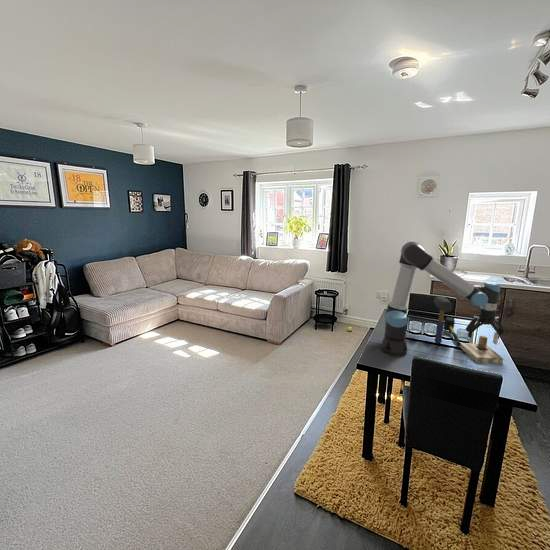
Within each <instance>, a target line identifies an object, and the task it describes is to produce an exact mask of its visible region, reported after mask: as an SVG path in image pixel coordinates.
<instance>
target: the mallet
mask: <svg viewBox="0 0 550 550" xmlns="http://www.w3.org/2000/svg"><path fill="white" fill-rule="evenodd" d="M455 322H456V320H455V318H453V317H452V316H451V317H450V316H447V317H445V319H444V322H443V330H444V329H445V330H449V331H451V332H450V333H451V334H452V337H453V339H454V341H455V343H456V346H457V347H458V346H460V344H461V343H462V342H461V341H460V340H459V337H458V335H457V333H456V332H455V330H454V327H455ZM445 330H444V331H445Z"/></svg>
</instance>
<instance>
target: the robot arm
mask: <svg viewBox="0 0 550 550" xmlns="http://www.w3.org/2000/svg"><path fill="white" fill-rule="evenodd" d="M434 258H435V257H434V256H433V255H432V254H430V253H429V252H428V251H427V250H426V249H425V248H424V247H423V246H422V244H420V243H419V242H416V241H408V242H407V243H405V244H404V245H403V246H402V247H401V250H400V257H399V260H398V263H399V264H400V267H399V271H398V276H397V279H396V281H395V282H396V283H395V287H394V289H393V294H392V298H391V301H389V302H388V303H387V306H386V310H385V311H384V319H385V321H384V322H385V323H384V325H385V326H384V336H383V339H382V340H381V343H380V347H379V348H380V351H382V353H384V354H386V355H390V356H394V357H402V356H405V355H407V353H408V346H407V342H406V335H407V327H408V326H407V325H408V320H409V319H408V316H407V311H408V307H407V302H408V297H409V294H410V292H411V291H410V290H411V287H412V284H413V280H414V277H415V274H416V269H418V270H420V271H425V272H426V273H427V274H430V275H431V276H432V277H434V278H435V279H436V280H438V281H439V282H441V283H443V284H444V285H445V286H447V287H449V288H450V289H452V290H453V291H455V292H456V293H457V294H458V296H459V297H461V298H465V299H466V300H468V301H469V302H470V303H472V305H474V306H476V307H480V308H479V316H476V315H473V316H472V319H471V321H470V322H469V323H468V325H466V327H465V328H464V330H465V331H466V332H468V334H467V337H468V343H471V344H472V343H473V342H474V334H475V333H474V332H475V331H476V330H477V329H479V328H480V327H481V326H483V325H484V326H485V325H486V326H487V325H488V326H489V325H490V326H491V327H492V328H493V330H494V333H493V338H492V343H493V344H494V345H495V346H496V345H498V340H499V339H500V337H501V336H502V334H504V333H505V330H504V327H503V324H502V322H501V318H500V317H499V316H496V314H497V307H498V304H499V303H498V301H499V296H500V293H501V285H500V284H499V283H498V282H493V281H486V282H484V283H483V285H478V284H477V285H476V284H471V283H470V282H468V281H467V280H465V279H464V278H462V277H461V276H460V275H458V274H457V273H455V272H454V271H452V270H451V269H449V268H448V267H446V266H444V265H443V264H442V263H440V262H438V261H437V260H436V259H434ZM494 321H495V322H496V324H495V322H494Z"/></svg>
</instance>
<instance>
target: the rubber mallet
mask: <svg viewBox="0 0 550 550" xmlns="http://www.w3.org/2000/svg"><path fill="white" fill-rule="evenodd" d="M433 304H434V305H435V306H436V307H437V309H439V315H438V320H437V323H436V326H435V327H436V329H435V331H436V332H435V338H434V343H436V344H438V343H440V344H441V343H442V342H443V341H442V338H443V337H442V336H443V332H444V320H445V319H444V316H445V313H449V312H451V311H452V310H453V303H452V302H451V301H450V300H449V299H448V298H446V297H444V296H443V295H439V296H438V295H437V296H436V297H435V298H434V300H433Z"/></svg>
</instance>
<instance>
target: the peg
mask: <svg viewBox="0 0 550 550" xmlns="http://www.w3.org/2000/svg"><path fill="white" fill-rule="evenodd" d="M488 339H489V338H488V337H487V336H485V335H479V336H478V342H477V344H478V349H479V350H486V345H487V342H488ZM487 346H488V345H487Z"/></svg>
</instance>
